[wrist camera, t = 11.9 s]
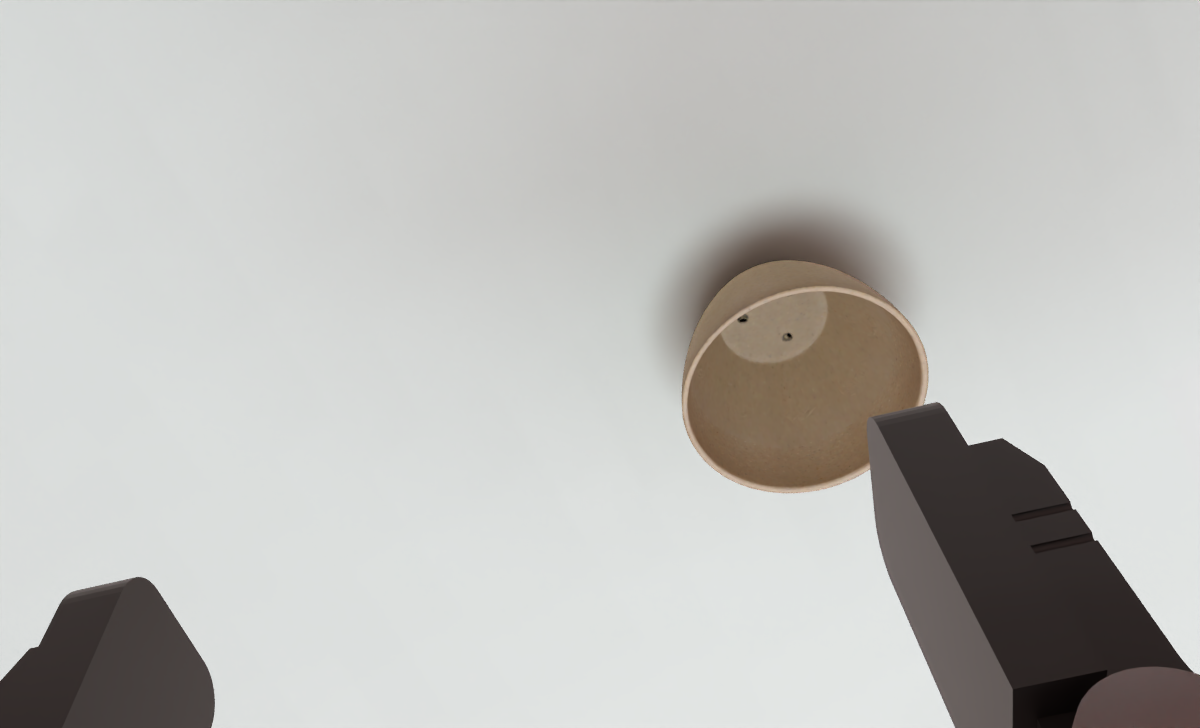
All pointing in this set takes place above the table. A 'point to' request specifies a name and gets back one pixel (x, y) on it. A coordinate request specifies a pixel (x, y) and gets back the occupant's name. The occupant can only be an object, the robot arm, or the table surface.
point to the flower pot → (796, 376)
